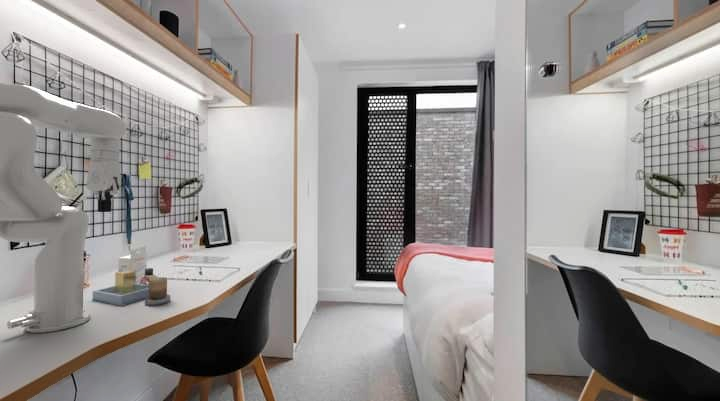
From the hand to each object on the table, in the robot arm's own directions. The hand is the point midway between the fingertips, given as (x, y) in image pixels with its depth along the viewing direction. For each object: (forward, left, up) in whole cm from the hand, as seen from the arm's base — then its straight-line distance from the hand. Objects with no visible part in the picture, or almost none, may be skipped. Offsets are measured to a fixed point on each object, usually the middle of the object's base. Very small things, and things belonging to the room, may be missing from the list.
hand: (104, 211), depth 105 cm
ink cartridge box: (+13, +5, -29) cm, 32 cm away
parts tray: (+3, -6, -29) cm, 30 cm away
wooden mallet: (+7, -15, -27) cm, 32 cm away
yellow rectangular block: (+3, -6, -28) cm, 29 cm away
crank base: (+7, -13, -29) cm, 33 cm away
